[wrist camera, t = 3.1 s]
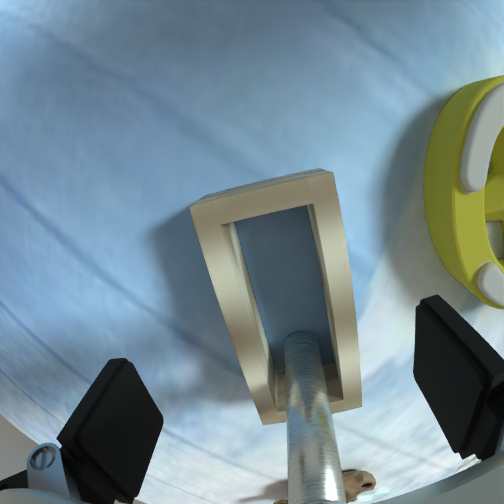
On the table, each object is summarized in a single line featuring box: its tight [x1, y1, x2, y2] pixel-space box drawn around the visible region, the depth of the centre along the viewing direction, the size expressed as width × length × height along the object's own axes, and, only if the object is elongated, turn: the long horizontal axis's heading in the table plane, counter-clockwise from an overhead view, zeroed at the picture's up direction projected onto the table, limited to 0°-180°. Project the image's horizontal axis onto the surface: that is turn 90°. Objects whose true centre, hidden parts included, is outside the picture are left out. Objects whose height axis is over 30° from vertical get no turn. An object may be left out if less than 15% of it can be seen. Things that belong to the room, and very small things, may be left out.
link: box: [189, 168, 362, 425], centre depth 18 cm, size 15×7×4 cm, turn 14°
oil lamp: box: [273, 471, 376, 504], centre depth 25 cm, size 13×8×5 cm, turn 117°
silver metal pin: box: [284, 331, 347, 504], centre depth 13 cm, size 4×4×16 cm
